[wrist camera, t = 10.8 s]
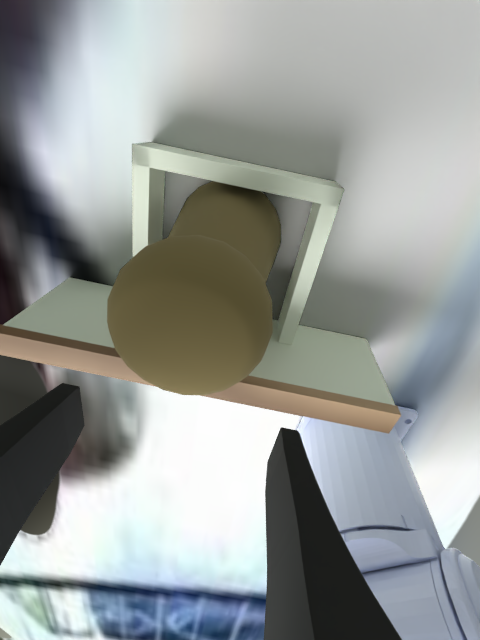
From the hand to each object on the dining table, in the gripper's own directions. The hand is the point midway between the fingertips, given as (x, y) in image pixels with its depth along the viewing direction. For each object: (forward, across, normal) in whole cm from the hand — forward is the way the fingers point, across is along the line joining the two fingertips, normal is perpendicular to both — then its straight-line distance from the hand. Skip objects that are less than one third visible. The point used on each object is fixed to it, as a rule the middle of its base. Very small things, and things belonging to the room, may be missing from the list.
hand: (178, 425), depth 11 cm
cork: (+11, 0, -4) cm, 11 cm away
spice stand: (+10, 0, -3) cm, 11 cm away
